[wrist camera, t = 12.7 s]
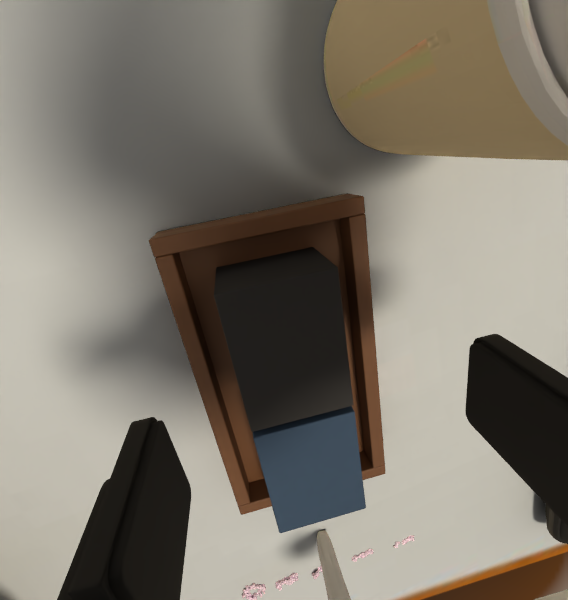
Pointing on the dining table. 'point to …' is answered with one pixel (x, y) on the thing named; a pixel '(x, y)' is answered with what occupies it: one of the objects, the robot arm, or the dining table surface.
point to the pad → (285, 336)
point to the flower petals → (294, 577)
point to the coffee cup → (451, 76)
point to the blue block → (312, 468)
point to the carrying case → (556, 526)
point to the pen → (331, 569)
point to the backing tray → (210, 336)
